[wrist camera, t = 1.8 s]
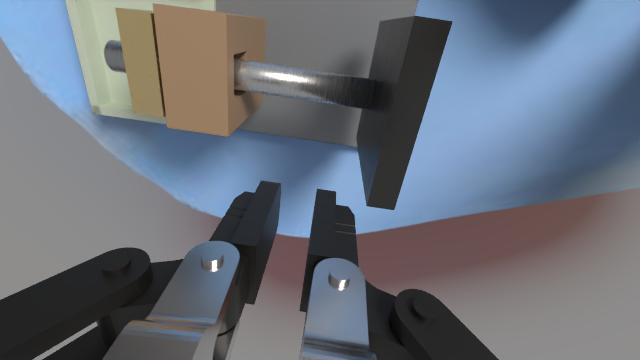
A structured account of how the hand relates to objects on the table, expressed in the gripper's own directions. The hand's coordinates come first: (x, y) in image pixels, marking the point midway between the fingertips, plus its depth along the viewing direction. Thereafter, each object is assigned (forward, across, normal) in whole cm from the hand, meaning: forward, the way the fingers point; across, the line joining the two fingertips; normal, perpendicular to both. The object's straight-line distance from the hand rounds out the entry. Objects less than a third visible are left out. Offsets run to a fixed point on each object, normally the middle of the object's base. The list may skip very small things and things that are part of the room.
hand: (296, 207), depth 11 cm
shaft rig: (+19, +8, -2) cm, 21 cm away
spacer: (+15, +11, -2) cm, 19 cm away
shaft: (+15, +4, -3) cm, 16 cm away
